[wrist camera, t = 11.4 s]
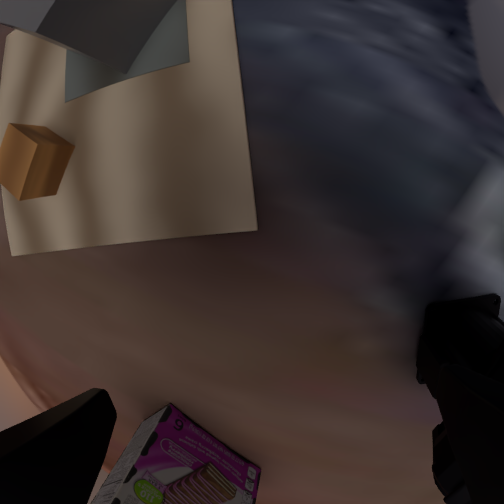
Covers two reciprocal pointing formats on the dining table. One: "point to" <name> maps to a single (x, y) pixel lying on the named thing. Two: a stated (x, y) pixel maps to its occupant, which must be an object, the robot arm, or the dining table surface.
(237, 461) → the candy bar box
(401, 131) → the dining table surface
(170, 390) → the dining table surface
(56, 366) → the dining table surface
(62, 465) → the robot arm
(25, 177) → the orange block
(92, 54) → the charcoal cover
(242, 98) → the birch board
